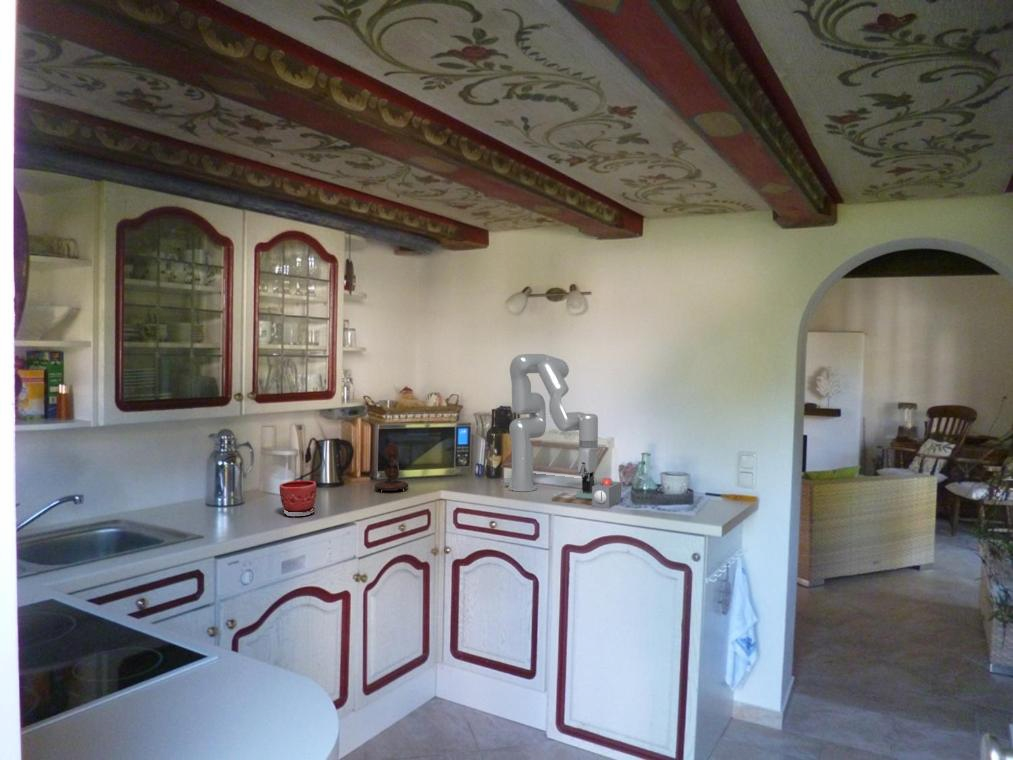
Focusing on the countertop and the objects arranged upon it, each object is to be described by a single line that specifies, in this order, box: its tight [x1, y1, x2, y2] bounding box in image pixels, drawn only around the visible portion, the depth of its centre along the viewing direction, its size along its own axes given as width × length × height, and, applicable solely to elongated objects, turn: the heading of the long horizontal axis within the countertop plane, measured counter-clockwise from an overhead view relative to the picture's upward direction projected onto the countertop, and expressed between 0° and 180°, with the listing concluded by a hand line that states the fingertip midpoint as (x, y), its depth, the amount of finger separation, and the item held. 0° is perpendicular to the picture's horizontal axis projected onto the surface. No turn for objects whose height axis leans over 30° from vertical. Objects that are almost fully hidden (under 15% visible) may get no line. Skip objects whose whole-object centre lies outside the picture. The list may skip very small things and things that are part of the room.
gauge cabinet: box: [591, 481, 622, 509], centre depth 287 cm, size 7×15×8 cm, turn 152°
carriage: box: [575, 476, 593, 499], centre depth 291 cm, size 7×8×8 cm
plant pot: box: [279, 479, 317, 513], centre depth 268 cm, size 13×13×12 cm
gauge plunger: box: [601, 477, 613, 486], centre depth 287 cm, size 4×4×5 cm
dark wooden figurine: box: [374, 443, 409, 491], centre depth 315 cm, size 15×15×20 cm
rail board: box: [551, 491, 592, 506], centre depth 293 cm, size 18×9×2 cm, turn 62°
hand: (588, 489), depth 291 cm, fingers open, 3 cm apart
